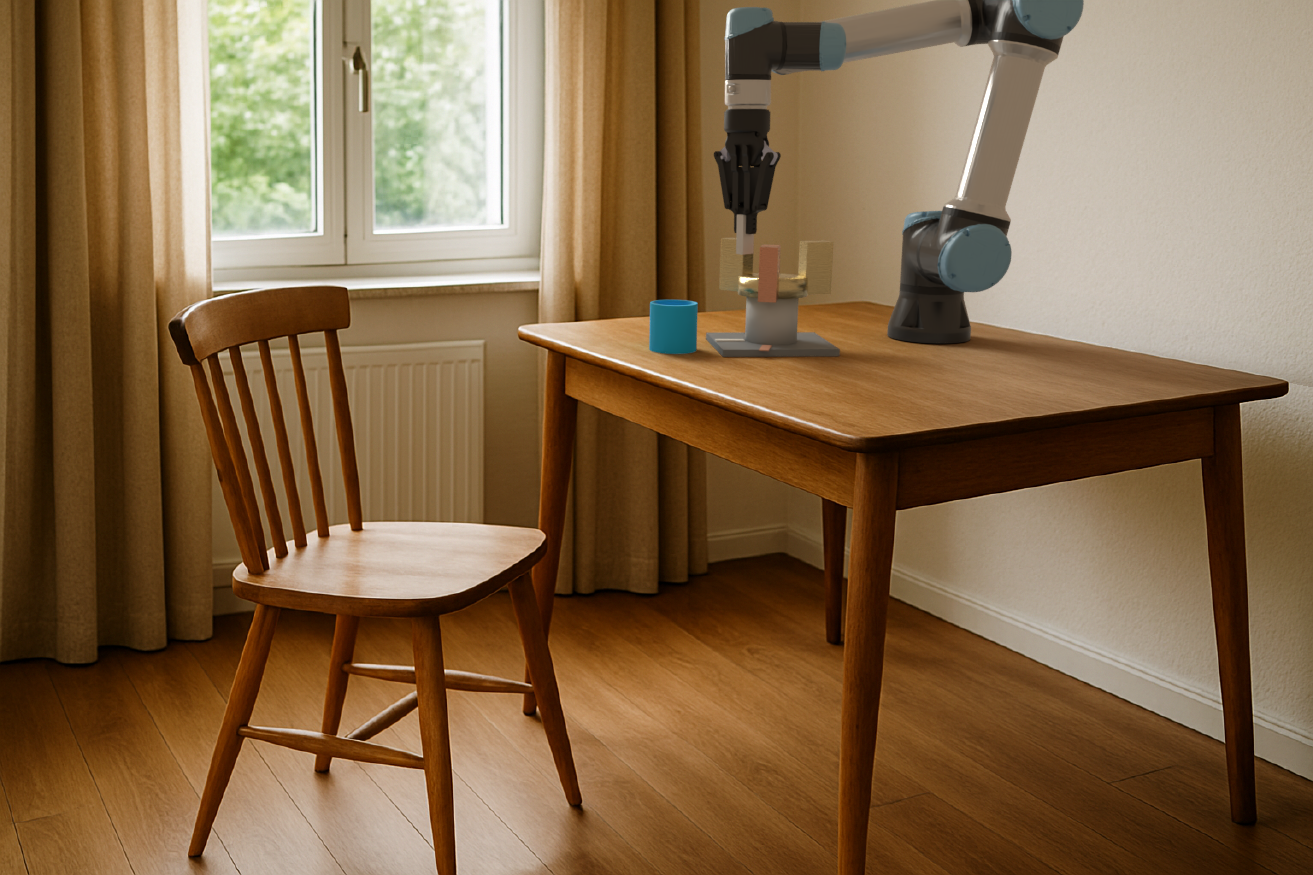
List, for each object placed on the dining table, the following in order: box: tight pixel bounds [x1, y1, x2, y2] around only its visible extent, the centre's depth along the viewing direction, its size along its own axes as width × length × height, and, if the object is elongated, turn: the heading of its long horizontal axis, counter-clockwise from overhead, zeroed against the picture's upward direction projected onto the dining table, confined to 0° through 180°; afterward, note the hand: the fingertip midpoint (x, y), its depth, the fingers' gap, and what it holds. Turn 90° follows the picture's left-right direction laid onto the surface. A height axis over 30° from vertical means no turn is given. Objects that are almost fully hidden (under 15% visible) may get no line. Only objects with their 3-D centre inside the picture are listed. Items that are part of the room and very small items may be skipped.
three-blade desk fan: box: [718, 237, 834, 303], centre depth 214 cm, size 17×20×9 cm
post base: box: [705, 297, 841, 358], centre depth 217 cm, size 20×20×9 cm
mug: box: [648, 299, 699, 355], centre depth 216 cm, size 12×8×8 cm
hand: (744, 253), depth 209 cm, fingers closed
